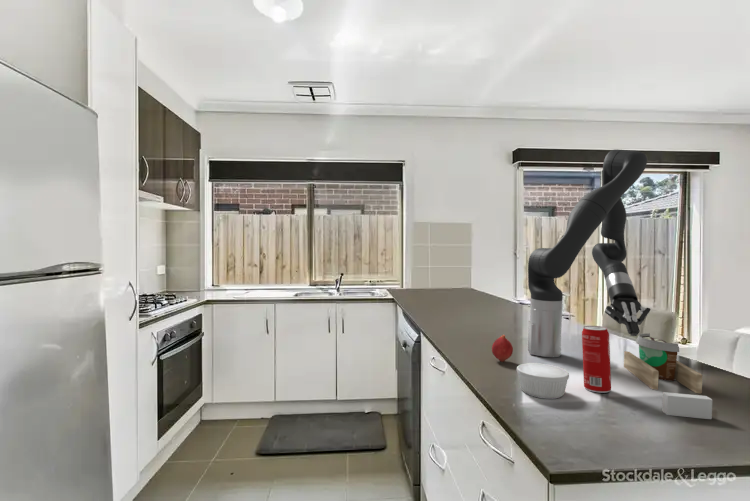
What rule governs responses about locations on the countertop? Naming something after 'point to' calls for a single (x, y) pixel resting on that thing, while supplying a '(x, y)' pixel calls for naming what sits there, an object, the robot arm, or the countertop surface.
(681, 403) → the white rectangular block
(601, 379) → the beverage can
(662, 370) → the food container
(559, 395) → the ramekin
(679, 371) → the chute
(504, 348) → the onion
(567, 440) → the countertop surface
